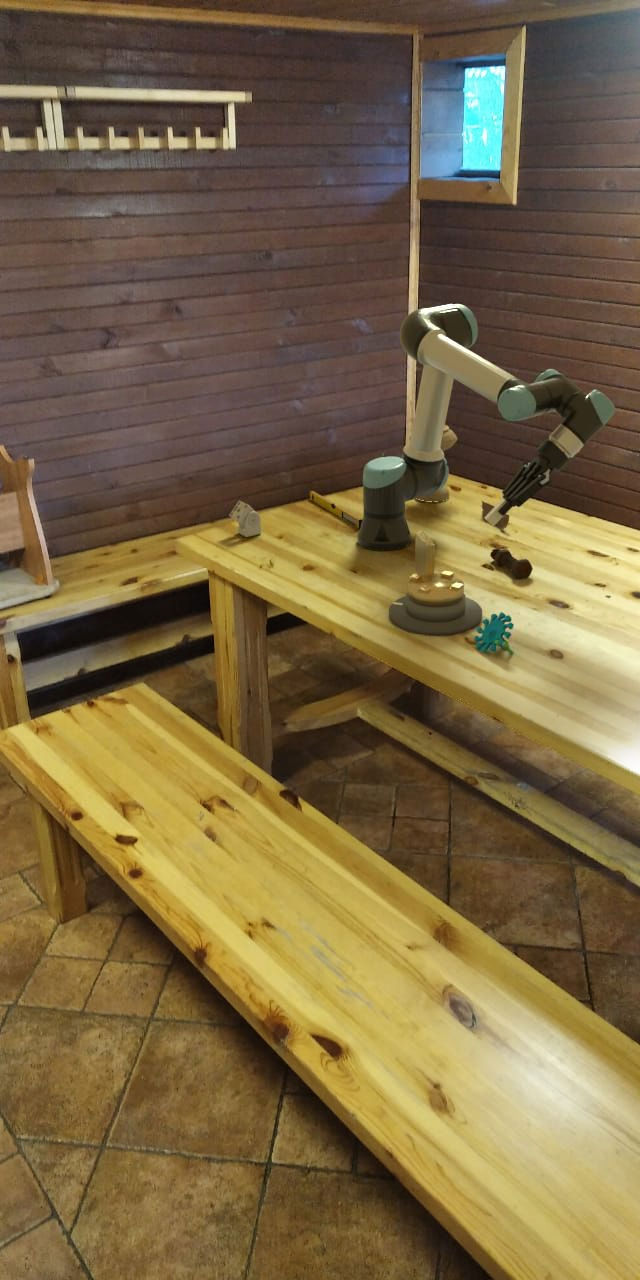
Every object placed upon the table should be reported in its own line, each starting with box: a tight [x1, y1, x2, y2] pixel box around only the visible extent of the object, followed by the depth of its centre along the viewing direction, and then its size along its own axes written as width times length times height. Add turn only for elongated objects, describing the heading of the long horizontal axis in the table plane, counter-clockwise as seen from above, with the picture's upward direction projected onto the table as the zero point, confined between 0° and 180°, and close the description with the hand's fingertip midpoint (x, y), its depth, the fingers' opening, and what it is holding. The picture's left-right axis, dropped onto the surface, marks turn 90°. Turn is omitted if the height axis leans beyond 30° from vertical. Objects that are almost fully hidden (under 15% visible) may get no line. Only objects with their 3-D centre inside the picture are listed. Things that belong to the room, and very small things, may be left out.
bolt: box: [489, 548, 533, 581], centre depth 257 cm, size 6×5×15 cm
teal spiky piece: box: [473, 611, 515, 655], centre depth 216 cm, size 11×6×10 cm
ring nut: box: [407, 530, 465, 607], centre depth 232 cm, size 22×13×11 cm, turn 10°
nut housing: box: [388, 592, 483, 637], centre depth 232 cm, size 22×22×5 cm
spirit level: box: [308, 490, 363, 529], centre depth 303 cm, size 33×1×3 cm, turn 26°
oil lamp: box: [408, 424, 458, 502], centre depth 306 cm, size 15×15×40 cm
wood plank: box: [481, 500, 510, 533], centre depth 289 cm, size 15×2×5 cm, turn 20°
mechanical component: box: [228, 500, 262, 538], centre depth 286 cm, size 5×8×10 cm
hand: (488, 522), depth 236 cm, fingers closed
